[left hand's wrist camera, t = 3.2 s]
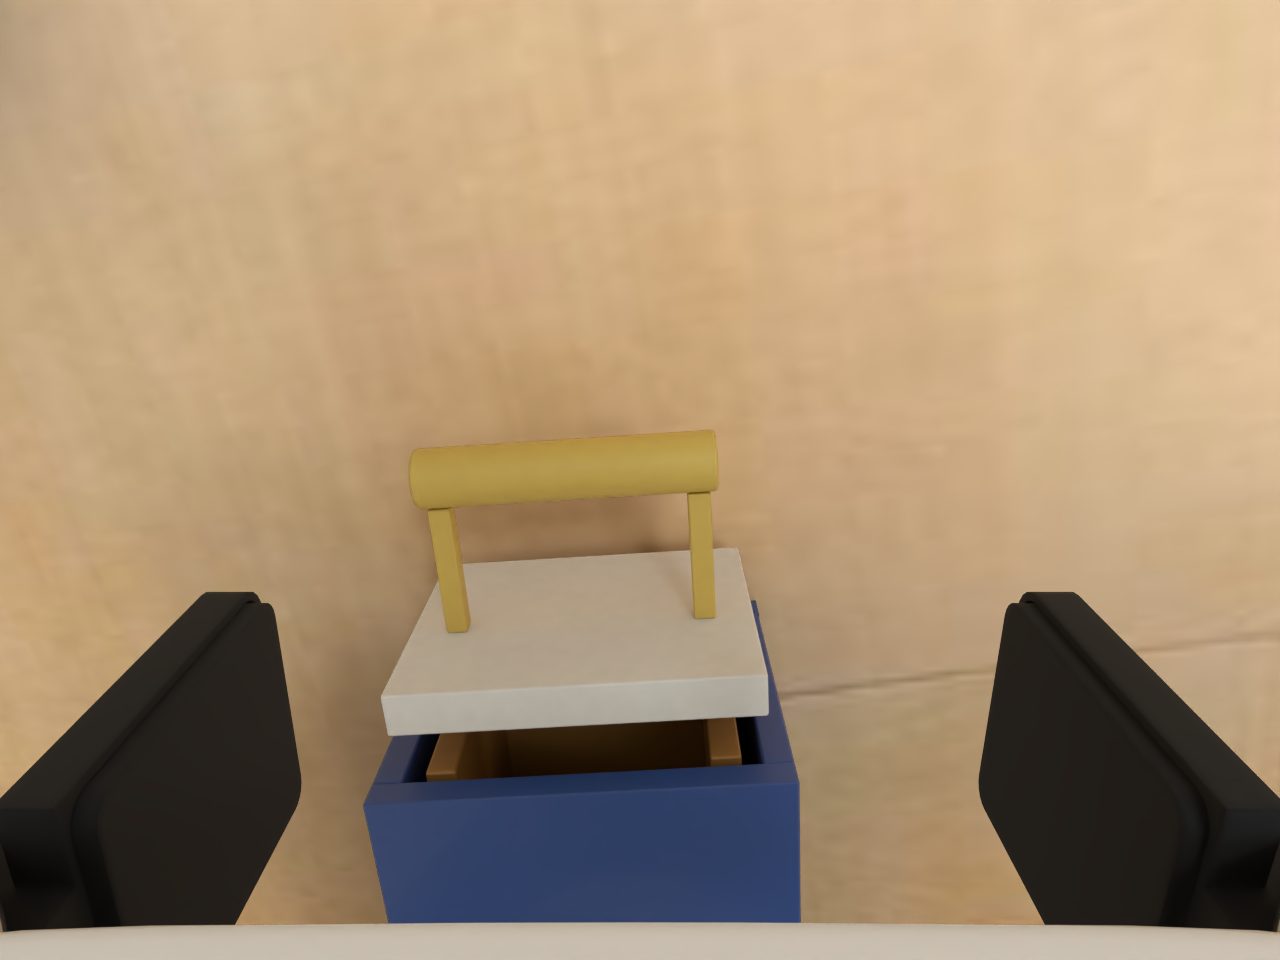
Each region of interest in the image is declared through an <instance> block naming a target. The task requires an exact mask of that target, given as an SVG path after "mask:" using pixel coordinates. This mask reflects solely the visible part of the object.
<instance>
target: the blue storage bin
mask: <svg viewBox="0 0 1280 960" xmlns="http://www.w3.org/2000/svg"><path fill="white" fill-rule="evenodd" d="M751 606H752V610H753V614H754V618H755V623H756V627H757V631H758V635H759V640H760V644H761V648H762V653H763V657H764V661H765V665H766V670H767V674H768V699H769V713H768V715H767V716H750V717H735V718H736V725H737V731H738V737H739V744H740V750H741V756H742V765H734V766H715V767H697V768H678V769H659V770H640V771H621V772H602V773H584V774H565V775H546V776H527V777H508V778H489V779H471V780H452V781H433V782H427V777H426V772H427V769H428V766H429V764H430V761H431V758H432V755H433V752H434V750H435V747H436V744H437V741H438V738H439V736H440V733H439V734H421V735H403V736H393V738H392V741H391V743H390V745H389V748H388V750H387V752H386V755H385V757H384V759H383V761H382V764H381V766H380V768H379V771H378V773H377V775H376V777H375V780H374V782H373V785H372V786H371V789H370V791H369V793H368V795H367V798H366V800H365V802H364V805H363V807H364V811H365V816H366V821H367V825H368V830H369V834H370V839H371V844H372V848H373V853H374V857H375V862H376V867H377V871H378V876H379V880H380V885H381V890H382V894H383V899H384V903H385V908H386V913H387V917H388V922H389V924H402V923H593V922H721V923H801V901H800V799H799V779H798V775H797V771H796V767H795V764H794V759H793V755H792V751H791V747H790V743H789V739H788V735H787V731H786V726H785V722H784V718H783V714H782V710H781V706H780V702H779V698H778V694H777V690H776V686H775V681H774V677H773V673H772V669H771V665H770V661H769V657H768V653H767V649H766V645H765V640H764V636H763V632H762V628H761V624H760V620H759V613H758V609H757V605H756V601H752V602H751Z"/></svg>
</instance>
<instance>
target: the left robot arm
mask: <svg viewBox="0 0 1280 960" xmlns="http://www.w3.org/2000/svg"><path fill="white" fill-rule="evenodd" d="M300 792H301V773H300V767H299V760H298V754H297V748H296V742H295V736H294V729H293V723H292V717H291V711H290V705H289V698H288V692H287V686H286V680H285V674H284V667H283V661H282V655H281V649H280V643H279V636H278V630H277V624H276V618H275V613H274V610H273V608H272V606H271V605H270V604H269V603H261V601H260V599H259V598H258V596H257V595H256V594H255V593H254V592H206V593H204V594H203V595H201V596H200V597H199V598H198V599H197V600H196V601H195V602H194V603H193V604H192V605H191V606H190V607H189V608H188V610H187V611H186V612H185V613H184V614H183V615H182V616H181V617H180V618H179V619H178V620H177V621H176V622H175V623H174V624H173V625H172V626H171V627H170V628H169V629H168V630H167V631H166V632H165V633H164V634H163V635H162V636H161V637H160V638H159V639H158V640H157V641H156V642H155V643H154V644H153V645H152V646H151V647H150V648H149V649H148V650H147V651H146V652H145V653H144V654H143V655H142V656H141V657H140V658H139V659H138V660H137V661H136V662H135V663H134V664H133V665H132V666H131V667H130V668H129V669H128V670H127V671H126V672H125V673H124V674H123V675H122V676H121V677H120V678H119V679H118V680H117V681H116V682H115V683H114V684H113V685H112V686H111V687H110V688H109V689H108V690H107V691H106V692H105V693H104V694H103V695H102V696H101V697H100V698H99V699H98V700H97V701H96V702H95V703H94V704H93V705H92V706H91V707H90V708H89V709H88V710H87V711H86V712H85V713H84V714H83V715H82V716H81V717H80V718H79V719H78V720H77V721H76V722H75V723H74V725H73V726H72V727H71V728H70V729H69V730H68V731H67V732H66V733H65V734H64V735H63V736H62V737H61V738H60V739H59V740H58V741H57V742H56V743H55V744H54V745H53V746H52V747H51V748H50V749H49V750H48V751H47V752H46V753H45V754H44V755H43V756H42V757H41V758H40V759H39V760H38V761H37V762H36V763H35V764H34V765H33V766H32V767H31V768H30V769H29V770H28V771H27V772H26V773H25V774H24V775H23V776H22V777H21V778H20V779H19V780H18V781H17V782H16V783H15V784H14V785H13V786H12V787H11V788H10V789H9V790H8V791H7V792H6V793H5V794H4V795H3V796H2V797H1V798H0V960H1280V798H1279V797H1278V796H1277V795H1276V794H1275V793H1274V792H1273V791H1272V790H1271V789H1270V788H1269V787H1268V786H1267V785H1266V784H1265V783H1264V782H1263V781H1262V780H1261V779H1260V778H1259V777H1258V776H1257V775H1256V774H1255V773H1254V772H1253V771H1252V770H1251V769H1250V768H1249V767H1248V766H1247V765H1246V764H1245V763H1244V762H1243V761H1242V760H1241V759H1240V758H1239V757H1238V756H1237V755H1236V754H1235V753H1234V752H1233V751H1232V750H1231V749H1230V748H1229V747H1228V746H1227V745H1226V744H1225V743H1224V742H1223V741H1222V740H1221V739H1220V738H1219V737H1218V736H1217V735H1216V734H1215V733H1214V732H1213V731H1212V730H1211V729H1210V728H1209V727H1208V726H1207V725H1206V723H1205V722H1204V721H1203V720H1202V719H1201V718H1200V717H1199V716H1198V715H1197V714H1196V713H1195V712H1194V711H1193V710H1192V709H1191V708H1190V707H1189V706H1188V705H1187V704H1186V703H1185V702H1184V701H1183V700H1182V699H1181V698H1180V697H1179V696H1178V695H1177V694H1176V693H1175V692H1174V691H1173V690H1172V689H1171V688H1170V687H1169V686H1168V685H1167V684H1166V683H1165V682H1164V681H1163V680H1162V679H1161V678H1160V677H1159V676H1158V675H1157V674H1156V673H1155V672H1154V671H1153V670H1152V669H1151V668H1150V667H1149V666H1148V665H1147V664H1146V663H1145V662H1144V661H1143V660H1142V659H1141V658H1140V657H1139V656H1138V655H1137V654H1136V653H1135V652H1134V651H1133V650H1132V649H1131V648H1130V647H1129V646H1128V645H1127V644H1126V643H1125V642H1124V641H1123V640H1122V639H1121V638H1120V637H1119V636H1118V635H1117V634H1116V633H1115V632H1114V631H1113V630H1112V629H1111V628H1110V627H1109V626H1108V625H1107V624H1106V623H1105V622H1104V621H1103V620H1102V619H1101V618H1100V617H1099V616H1098V615H1097V614H1096V613H1095V612H1094V611H1093V610H1092V608H1091V607H1090V606H1089V605H1088V604H1087V603H1086V602H1085V601H1084V600H1083V599H1082V598H1081V597H1080V596H1079V595H1077V594H1076V593H1074V592H1026V593H1025V594H1024V595H1023V596H1022V598H1021V599H1020V601H1019V603H1011V604H1010V605H1009V606H1008V608H1007V610H1006V613H1005V618H1004V624H1003V630H1002V636H1001V643H1000V649H999V655H998V661H997V667H996V674H995V680H994V686H993V692H992V698H991V705H990V711H989V717H988V723H987V729H986V736H985V742H984V748H983V754H982V760H981V767H980V773H979V792H980V798H981V801H982V804H983V807H984V809H985V811H986V813H987V815H988V817H989V819H990V821H991V823H992V824H993V826H994V828H995V830H996V832H997V834H998V836H999V838H1000V840H1001V842H1002V844H1003V845H1004V847H1005V849H1006V851H1007V853H1008V855H1009V857H1010V859H1011V861H1012V863H1013V864H1014V866H1015V868H1016V870H1017V872H1018V874H1019V876H1020V878H1021V880H1022V882H1023V884H1024V885H1025V887H1026V889H1027V891H1028V893H1029V895H1030V897H1031V899H1032V901H1033V903H1034V905H1035V906H1036V908H1037V910H1038V912H1039V914H1040V916H1041V918H1042V920H1043V922H1044V924H1045V925H998V924H878V923H721V922H593V923H402V924H282V925H235V924H236V922H237V920H238V918H239V916H240V914H241V912H242V910H243V908H244V906H245V904H246V903H247V901H248V899H249V897H250V895H251V893H252V891H253V889H254V887H255V885H256V884H257V882H258V880H259V878H260V876H261V874H262V872H263V870H264V868H265V866H266V864H267V863H268V861H269V859H270V857H271V855H272V853H273V851H274V849H275V847H276V845H277V844H278V842H279V840H280V838H281V836H282V834H283V832H284V830H285V828H286V826H287V824H288V823H289V821H290V819H291V817H292V815H293V813H294V811H295V809H296V807H297V804H298V801H299V798H300Z"/></svg>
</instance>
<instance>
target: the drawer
mask: <svg viewBox="0 0 1280 960" xmlns="http://www.w3.org/2000/svg"><path fill="white" fill-rule="evenodd" d="M409 484H410V491H411V495H412V498H413V501H414V503H415V505H416V507H417V508H419V509H429V510H428V512H427V513H428V519H429V525H430V532H431V538H432V544H433V550H434V556H435V562H436V568H437V574H438V581H437V583H436V585H435V587H434V589H433V591H432V593H431V595H430V597H429V599H428V601H427V603H426V606H425V608H424V610H423V612H422V614H421V616H420V618H419V620H418V622H417V624H416V626H415V628H414V630H413V632H412V634H411V636H410V638H409V640H408V642H407V644H406V646H405V648H404V650H403V652H402V654H401V656H400V658H399V660H398V662H397V664H396V666H395V668H394V670H393V672H392V675H391V677H390V679H389V681H388V683H387V685H386V687H385V689H384V691H383V693H382V695H381V703H382V708H383V713H384V718H385V723H386V728H387V733H388V736H403V735H421V734H439V733H440V736H439V738H438V741H437V744H436V747H435V750H434V752H433V755H432V758H431V761H430V764H429V766H428V769H427V772H426V777H427V782H433V781H452V780H471V779H489V778H508V777H527V776H546V775H565V774H584V773H602V772H621V771H640V770H659V769H678V768H697V767H715V766H734V765H742V756H741V750H740V744H739V737H738V731H737V725H736V718H735V717H750V716H767V715H768V713H769V699H768V674H767V670H766V665H765V661H764V657H763V653H762V648H761V644H760V640H759V635H758V631H757V627H756V623H755V618H754V614H753V610H752V606H751V601H750V597H749V593H748V589H747V584H746V580H745V576H744V571H743V567H742V563H741V559H740V554H739V550H738V548H737V547H732V548H716V549H713V537H712V515H711V494H710V491H716V490H717V489H718V484H719V476H718V456H717V444H716V436H715V433H714V431H713V430H701V431H686V432H670V433H655V434H639V435H624V436H608V437H593V438H577V439H562V440H547V441H531V442H516V443H500V444H485V445H469V446H454V447H438V448H423V449H416V450H414V451H413V453H412V455H411V458H410V464H409ZM675 493H687V500H688V519H689V537H690V550H683V551H666V552H650V553H633V554H617V555H600V556H584V557H567V558H551V559H534V560H518V561H501V562H485V563H468V564H462V558H461V552H460V545H459V539H458V532H457V526H456V519H455V513H454V507H467V506H483V505H499V504H515V503H531V502H547V501H563V500H579V499H595V498H611V497H627V496H643V495H659V494H675Z"/></svg>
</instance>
